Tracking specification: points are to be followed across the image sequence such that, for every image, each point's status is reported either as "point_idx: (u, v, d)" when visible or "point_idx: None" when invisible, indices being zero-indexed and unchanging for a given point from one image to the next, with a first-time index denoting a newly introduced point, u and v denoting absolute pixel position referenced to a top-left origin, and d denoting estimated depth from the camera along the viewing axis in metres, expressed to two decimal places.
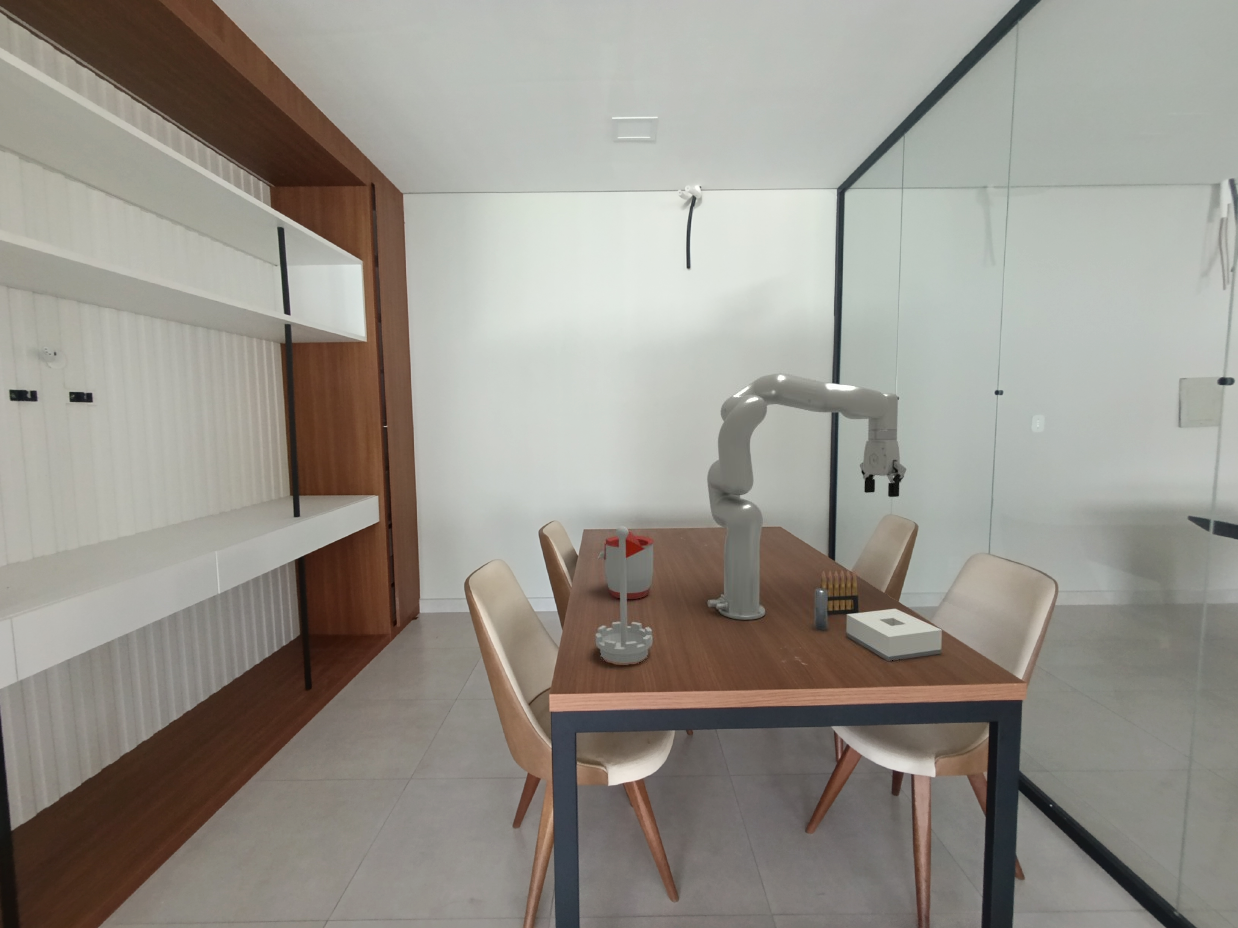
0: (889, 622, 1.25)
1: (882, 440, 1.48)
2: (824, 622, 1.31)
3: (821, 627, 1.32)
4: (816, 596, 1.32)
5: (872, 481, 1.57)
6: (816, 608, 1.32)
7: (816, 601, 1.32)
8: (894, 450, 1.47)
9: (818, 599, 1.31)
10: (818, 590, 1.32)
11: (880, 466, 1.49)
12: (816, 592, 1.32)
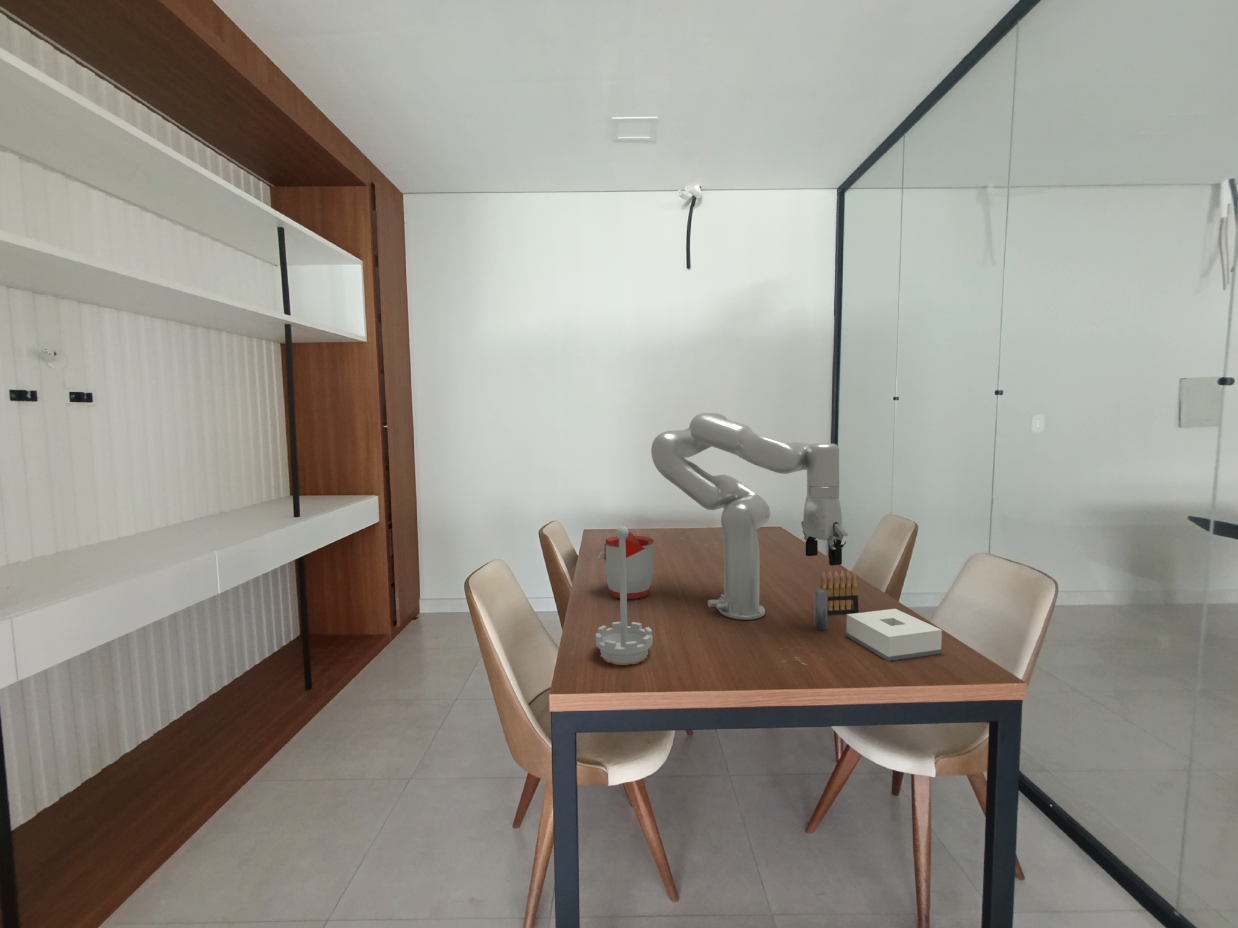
0: (889, 622, 1.25)
1: (821, 499, 1.27)
2: (824, 622, 1.31)
3: (821, 627, 1.32)
4: (816, 596, 1.32)
5: (815, 543, 1.36)
6: (816, 608, 1.32)
7: (816, 601, 1.32)
8: (835, 511, 1.26)
9: (818, 599, 1.31)
10: (818, 590, 1.32)
11: (819, 529, 1.28)
12: (816, 592, 1.32)
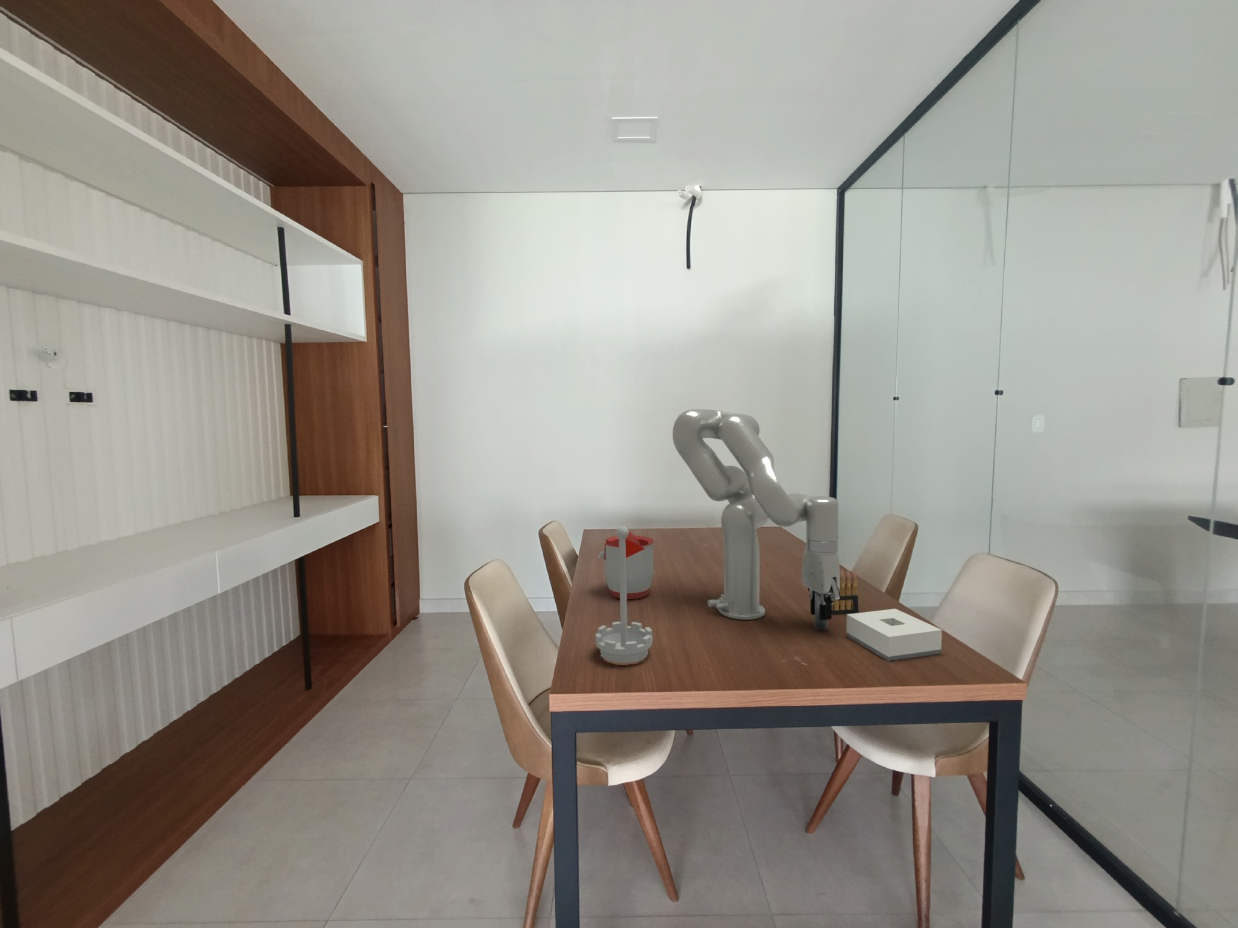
0: (889, 622, 1.25)
1: (820, 553, 1.28)
2: (824, 622, 1.31)
3: (821, 627, 1.32)
4: (816, 596, 1.32)
5: None
6: (816, 608, 1.32)
7: (816, 601, 1.32)
8: (833, 566, 1.27)
9: (818, 599, 1.31)
10: None
11: (818, 583, 1.29)
12: (816, 592, 1.32)
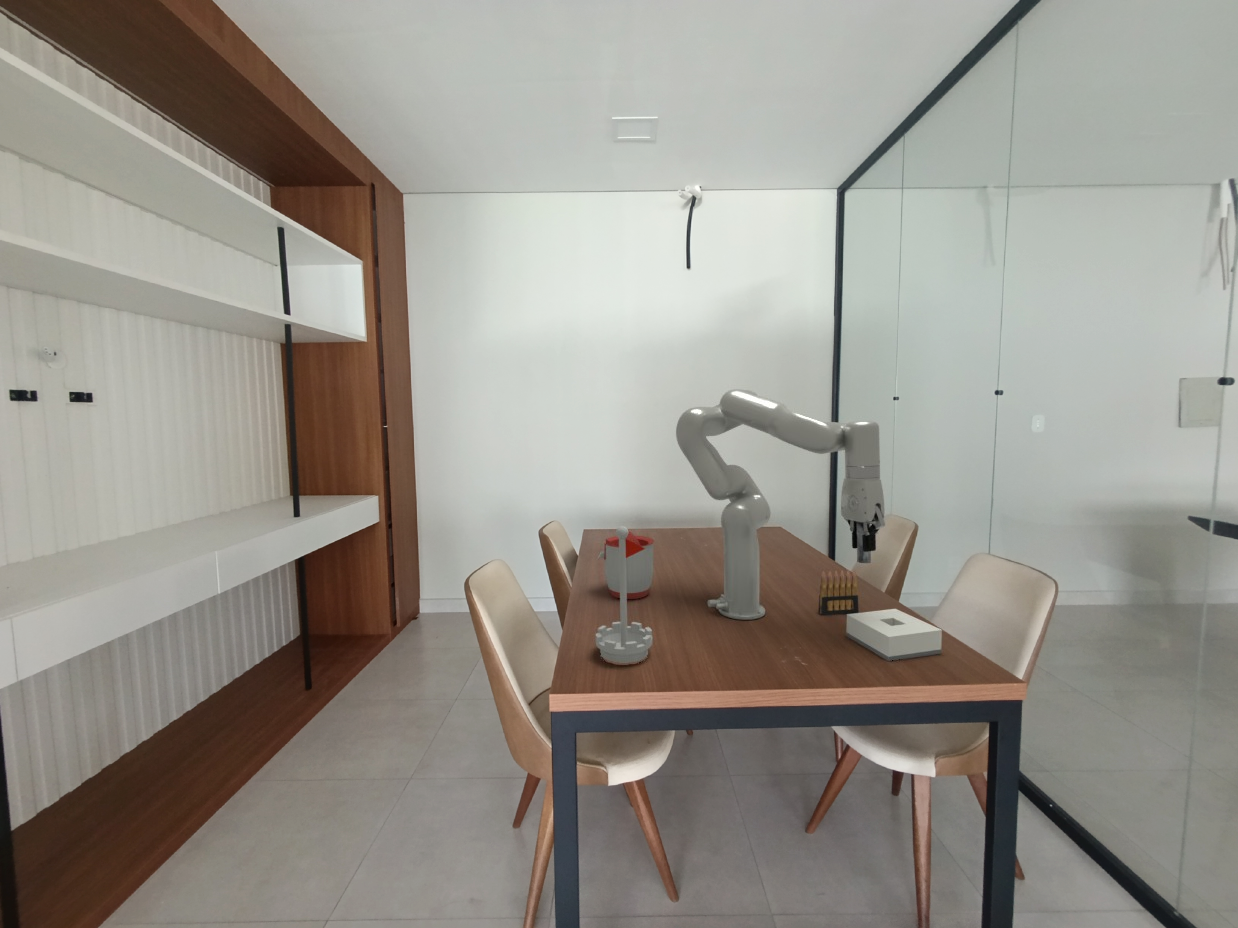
0: (889, 622, 1.25)
1: (862, 479, 1.21)
2: (868, 554, 1.24)
3: (865, 560, 1.24)
4: (858, 527, 1.24)
5: None
6: (859, 540, 1.25)
7: (858, 532, 1.25)
8: (877, 491, 1.20)
9: (861, 530, 1.24)
10: None
11: (860, 511, 1.21)
12: (858, 523, 1.24)
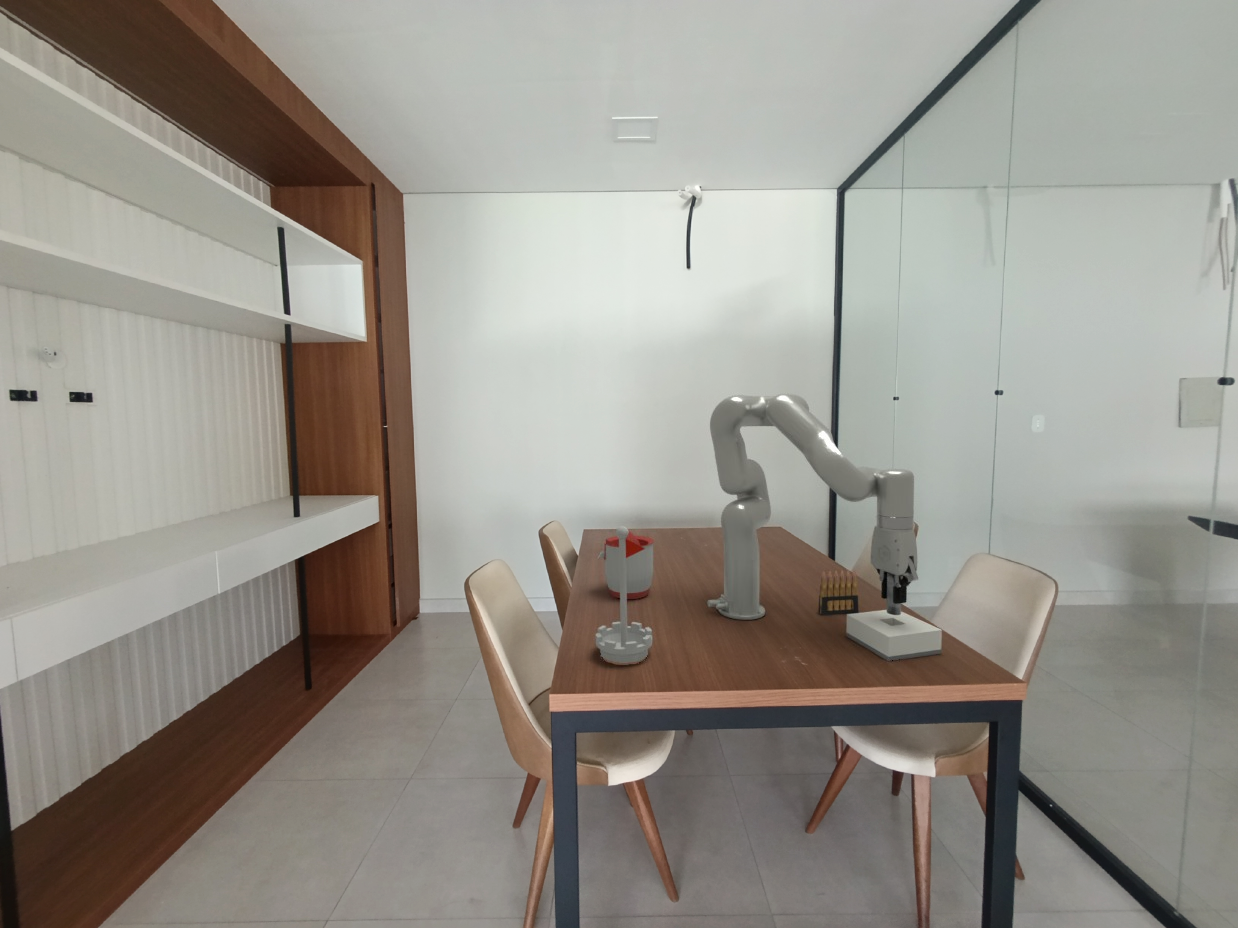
0: (889, 622, 1.25)
1: (895, 530, 1.17)
2: (898, 605, 1.20)
3: (895, 612, 1.21)
4: (889, 577, 1.21)
5: None
6: (889, 591, 1.21)
7: (889, 583, 1.21)
8: (910, 543, 1.16)
9: (892, 581, 1.20)
10: None
11: (892, 562, 1.18)
12: (889, 573, 1.21)
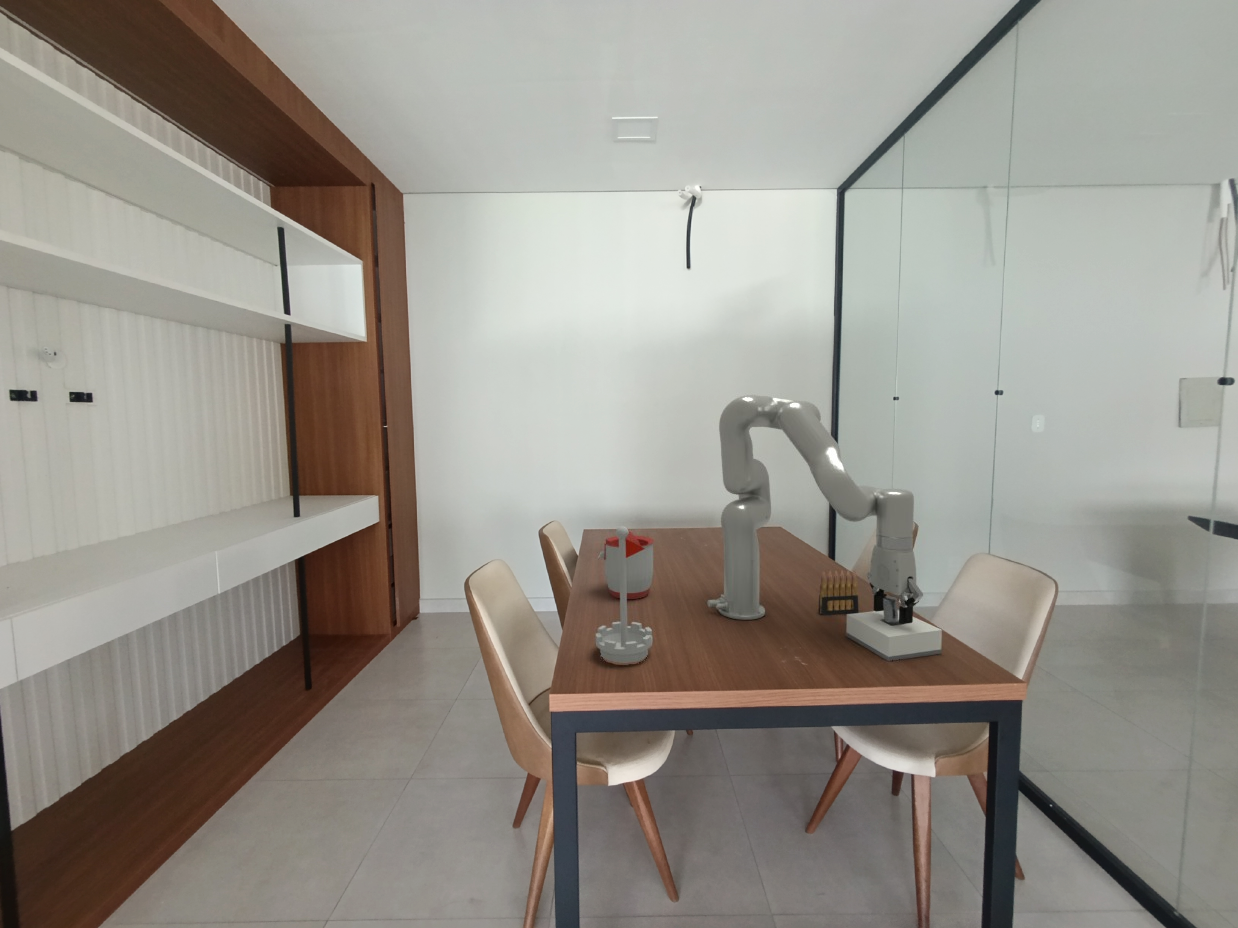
0: None
1: (894, 550, 1.18)
2: None
3: None
4: (885, 605, 1.22)
5: None
6: (886, 618, 1.22)
7: (885, 611, 1.22)
8: (909, 564, 1.17)
9: (888, 608, 1.21)
10: (887, 598, 1.22)
11: (891, 583, 1.18)
12: (885, 601, 1.22)
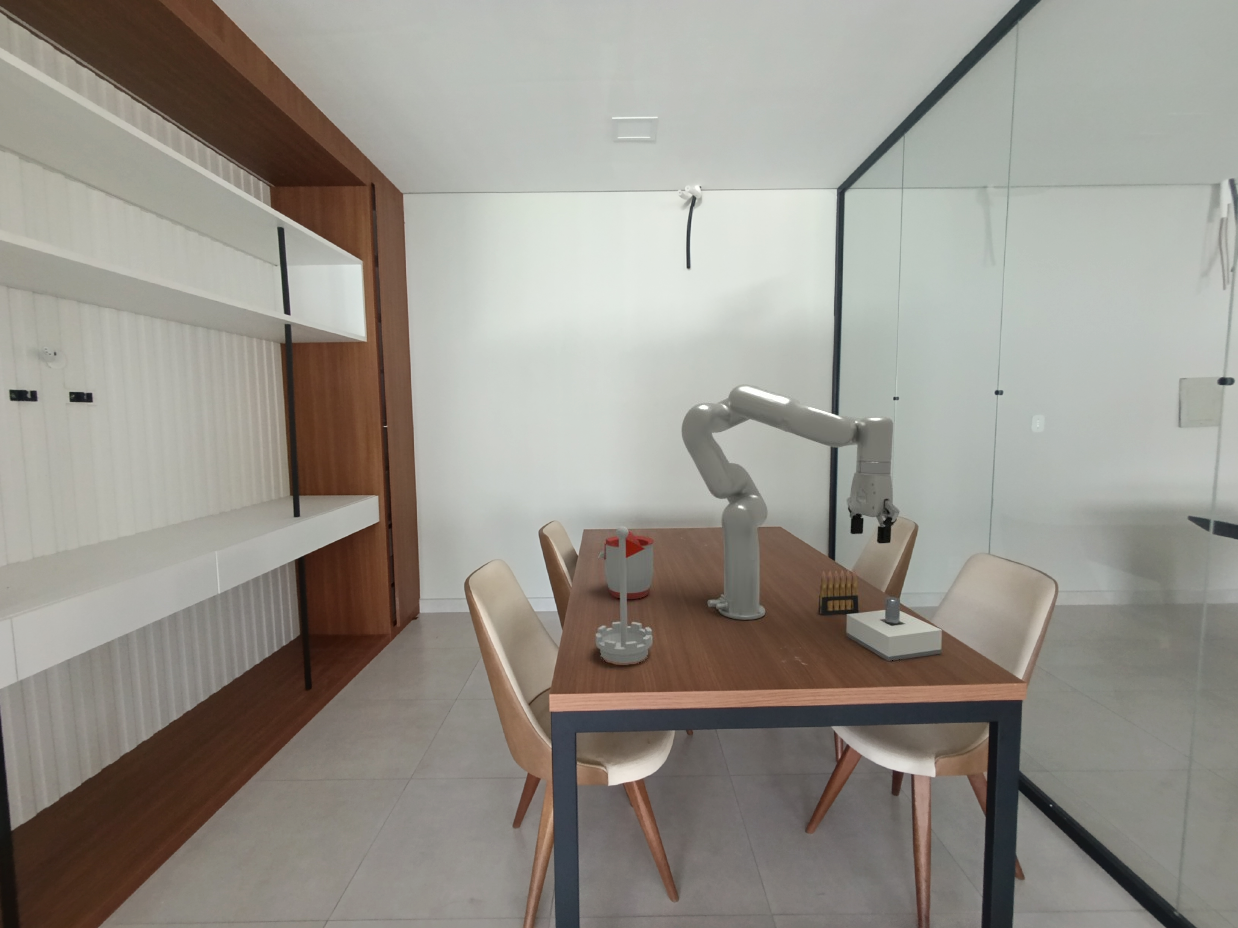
0: None
1: (872, 474, 1.22)
2: None
3: None
4: (887, 606, 1.21)
5: (861, 521, 1.31)
6: (887, 619, 1.22)
7: (887, 611, 1.22)
8: (886, 487, 1.21)
9: (890, 609, 1.21)
10: (890, 599, 1.22)
11: (869, 505, 1.23)
12: (887, 601, 1.21)
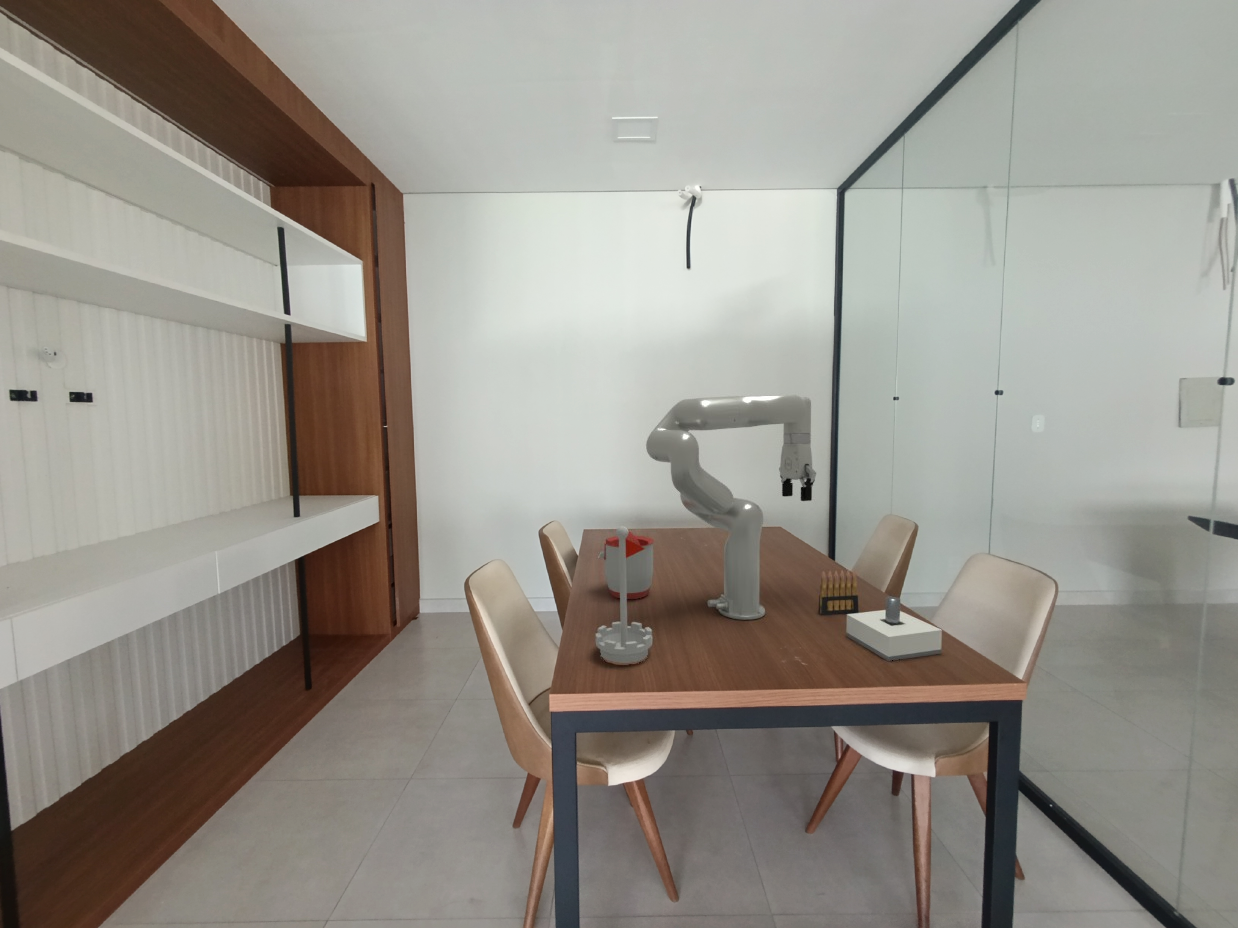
0: None
1: (795, 444, 1.48)
2: None
3: None
4: (888, 605, 1.22)
5: (790, 485, 1.57)
6: (888, 618, 1.22)
7: (888, 610, 1.22)
8: (806, 454, 1.47)
9: (891, 608, 1.21)
10: (890, 598, 1.22)
11: (793, 470, 1.49)
12: (888, 601, 1.22)
